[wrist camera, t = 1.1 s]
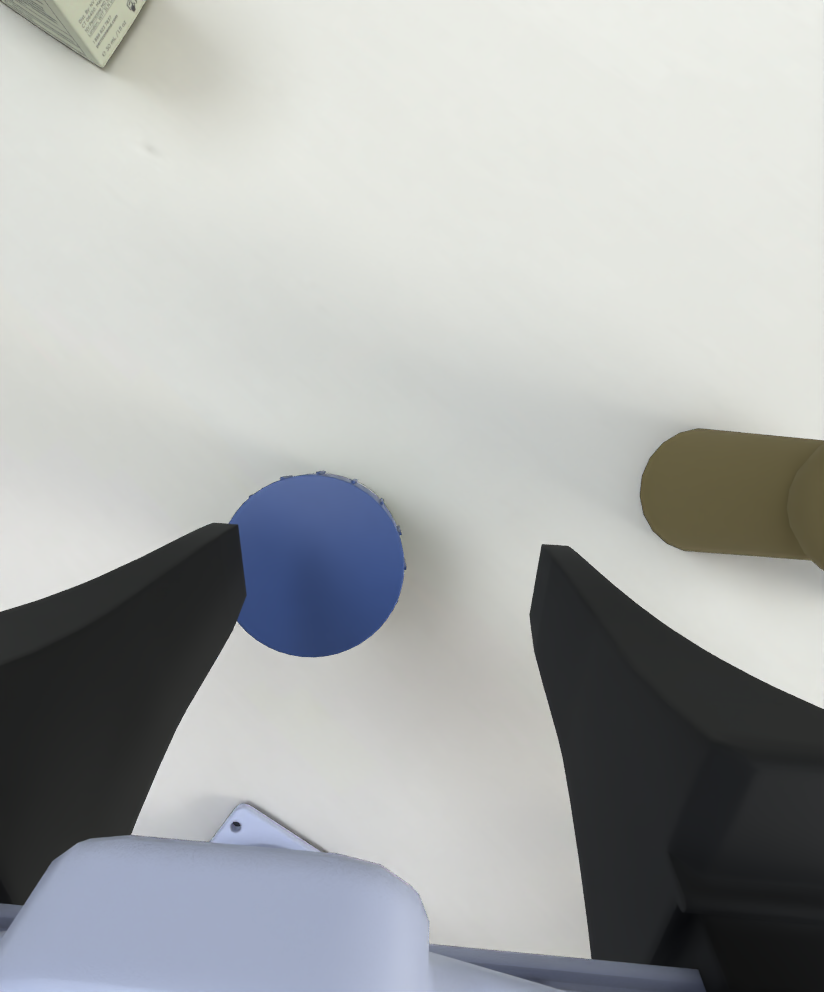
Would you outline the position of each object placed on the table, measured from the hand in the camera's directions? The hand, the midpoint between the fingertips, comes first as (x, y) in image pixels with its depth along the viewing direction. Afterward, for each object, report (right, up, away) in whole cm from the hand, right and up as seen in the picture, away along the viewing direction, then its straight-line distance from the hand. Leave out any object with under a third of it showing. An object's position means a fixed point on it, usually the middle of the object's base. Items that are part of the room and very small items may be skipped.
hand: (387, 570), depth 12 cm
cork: (+15, +2, +13) cm, 20 cm away
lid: (-2, 0, +4) cm, 4 cm away
